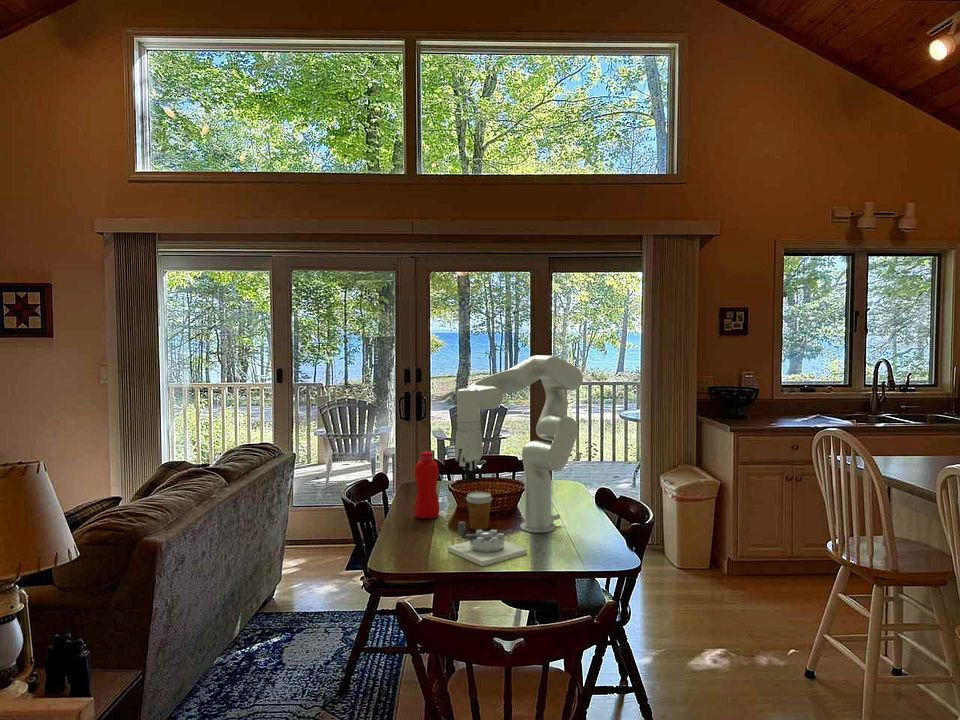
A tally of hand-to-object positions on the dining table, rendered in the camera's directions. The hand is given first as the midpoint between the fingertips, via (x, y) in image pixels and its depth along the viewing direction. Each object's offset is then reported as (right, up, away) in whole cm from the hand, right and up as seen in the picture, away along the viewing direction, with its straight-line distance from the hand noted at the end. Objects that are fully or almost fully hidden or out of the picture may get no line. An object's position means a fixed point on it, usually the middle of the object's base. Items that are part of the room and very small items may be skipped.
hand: (470, 481), depth 208 cm
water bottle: (-17, -21, +38) cm, 47 cm away
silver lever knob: (+3, -20, -5) cm, 21 cm away
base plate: (+5, -22, -5) cm, 23 cm away
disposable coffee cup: (+3, -21, +22) cm, 31 cm away
